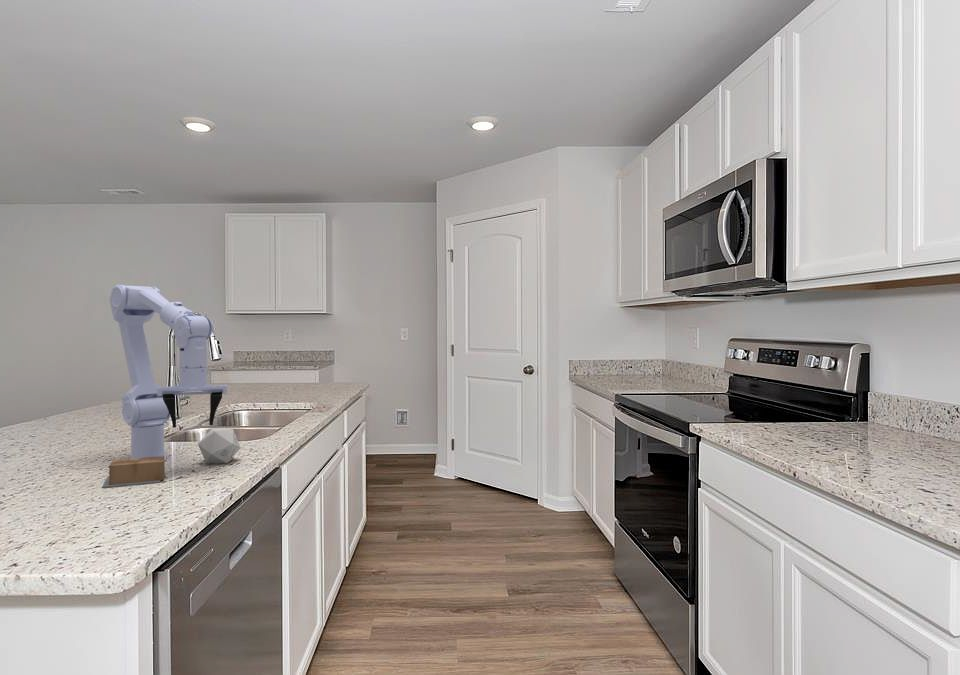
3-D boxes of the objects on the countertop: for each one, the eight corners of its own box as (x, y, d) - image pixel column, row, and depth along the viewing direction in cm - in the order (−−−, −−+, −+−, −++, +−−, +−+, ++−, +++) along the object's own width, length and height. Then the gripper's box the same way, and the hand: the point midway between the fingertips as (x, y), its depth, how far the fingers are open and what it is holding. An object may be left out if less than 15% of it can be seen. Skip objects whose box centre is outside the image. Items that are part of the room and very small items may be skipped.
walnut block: (164, 473, 133) (112, 478, 129) (164, 455, 133) (112, 460, 129) (163, 479, 128) (109, 485, 123) (163, 461, 128) (109, 465, 123)
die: (213, 470, 140) (240, 435, 143) (184, 450, 142) (211, 415, 145) (227, 475, 148) (252, 441, 151) (199, 456, 150) (225, 422, 153)
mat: (107, 478, 130) (107, 476, 130) (161, 473, 135) (161, 471, 135) (101, 488, 122) (101, 486, 122) (160, 482, 127) (160, 481, 127)
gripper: (156, 369, 130) (156, 430, 131) (228, 367, 137) (227, 426, 137) (158, 367, 137) (158, 425, 137) (226, 365, 143) (226, 421, 143)
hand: (193, 425), depth 137 cm, fingers open, 7 cm apart
